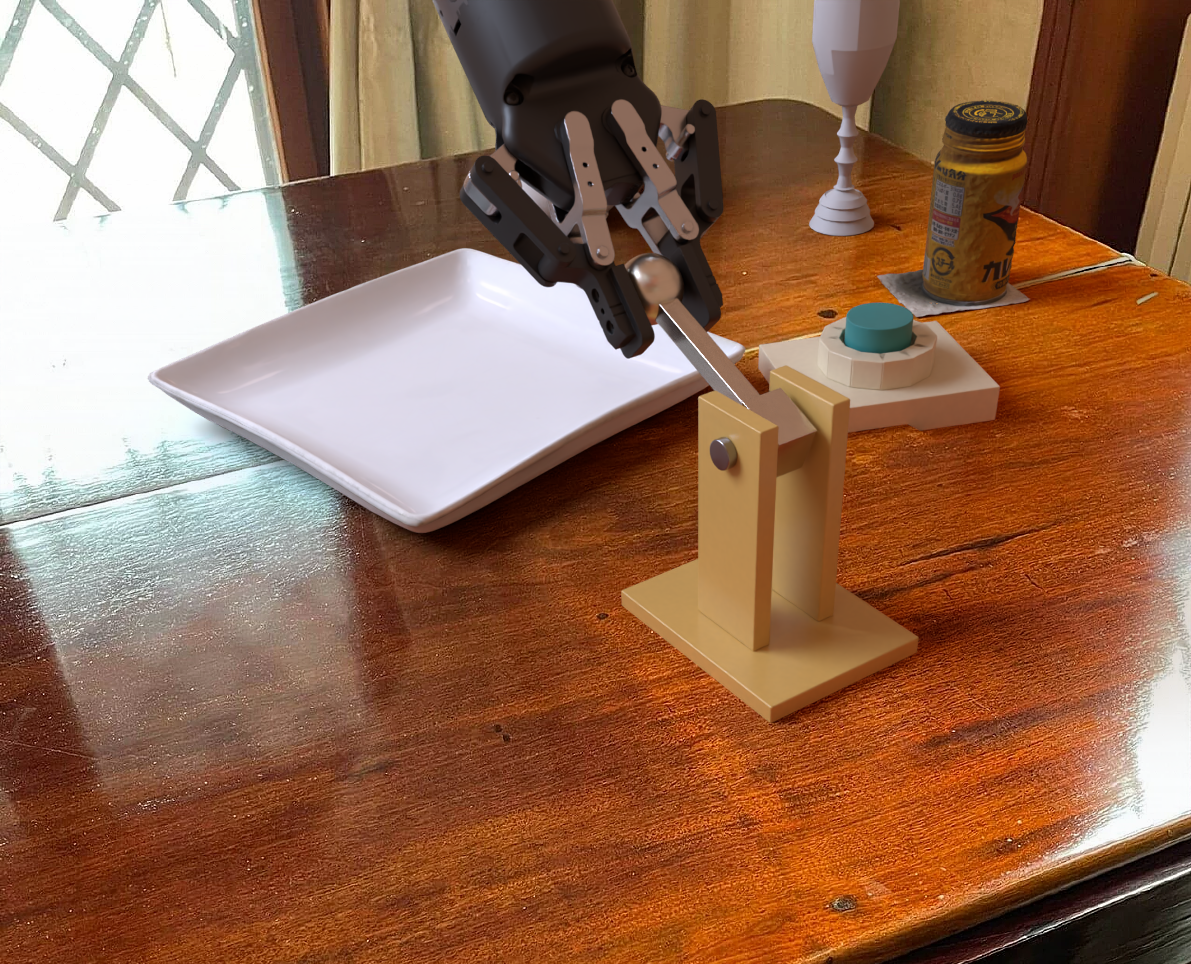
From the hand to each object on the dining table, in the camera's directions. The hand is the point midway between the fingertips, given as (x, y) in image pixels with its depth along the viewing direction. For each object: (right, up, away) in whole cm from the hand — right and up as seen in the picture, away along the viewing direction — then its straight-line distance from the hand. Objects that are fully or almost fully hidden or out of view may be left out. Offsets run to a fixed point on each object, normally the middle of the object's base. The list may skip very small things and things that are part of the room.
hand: (673, 337), depth 66 cm
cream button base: (+14, +4, +23) cm, 27 cm away
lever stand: (+5, -14, +4) cm, 15 cm away
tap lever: (+1, -2, 0) cm, 3 cm away
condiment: (+22, +14, +34) cm, 43 cm away
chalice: (+16, +23, +45) cm, 53 cm away
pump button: (+14, +6, +20) cm, 25 cm away
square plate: (-13, +3, +24) cm, 27 cm away
